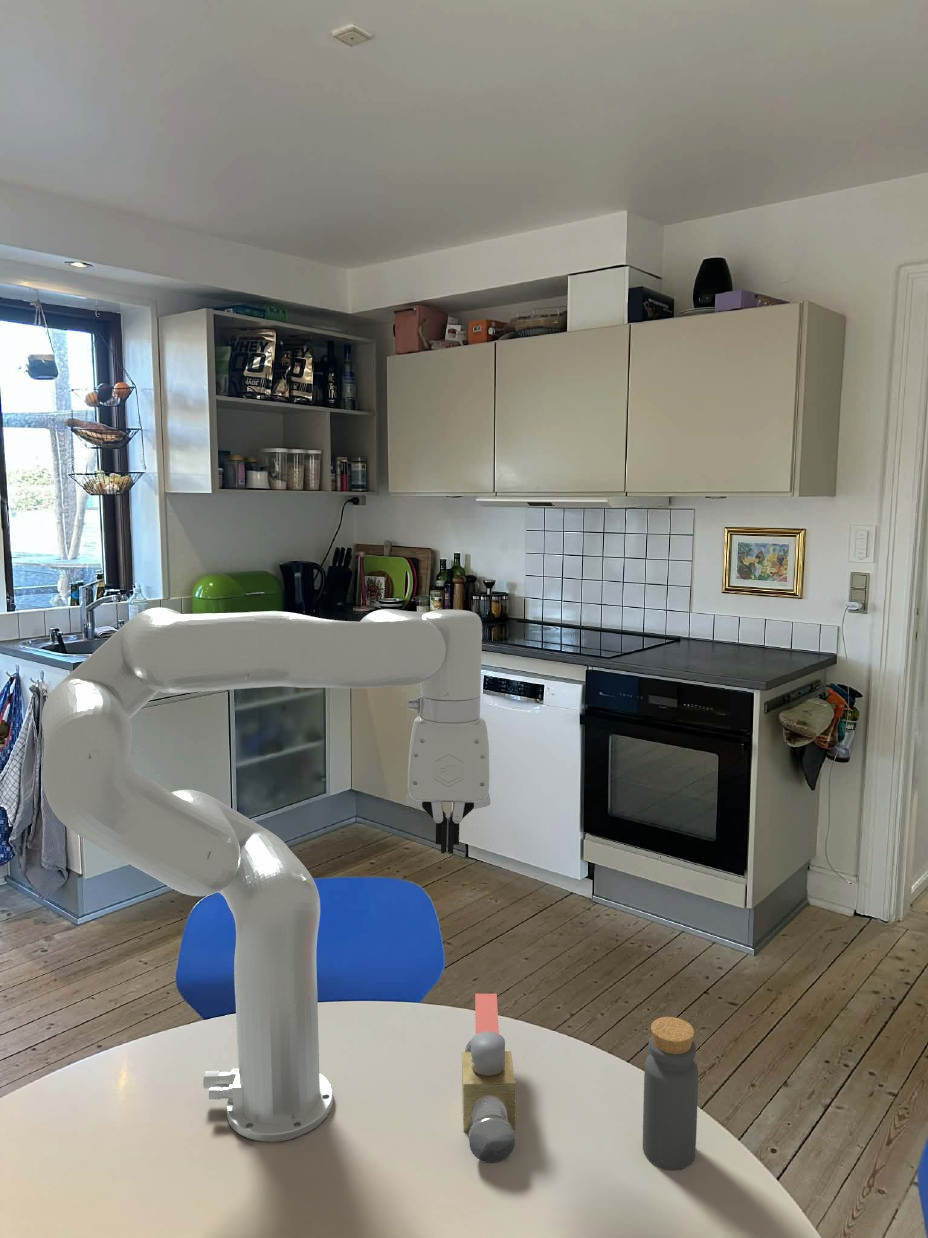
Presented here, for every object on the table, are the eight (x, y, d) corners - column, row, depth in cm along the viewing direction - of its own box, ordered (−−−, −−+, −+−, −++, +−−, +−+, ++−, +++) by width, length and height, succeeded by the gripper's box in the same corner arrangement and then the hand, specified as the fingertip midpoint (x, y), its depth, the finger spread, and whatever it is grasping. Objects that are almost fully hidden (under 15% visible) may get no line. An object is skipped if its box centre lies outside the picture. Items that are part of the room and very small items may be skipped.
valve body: (464, 1163, 101) (464, 1114, 100) (461, 1071, 117) (460, 1028, 116) (519, 1162, 101) (519, 1113, 100) (507, 1070, 117) (507, 1027, 116)
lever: (505, 1075, 106) (505, 1052, 106) (471, 1075, 106) (471, 1052, 106) (501, 1008, 120) (501, 986, 120) (470, 1008, 120) (470, 986, 120)
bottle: (682, 1179, 99) (686, 1051, 97) (633, 1155, 102) (636, 1031, 100) (703, 1148, 103) (708, 1025, 101) (656, 1126, 107) (659, 1007, 105)
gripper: (388, 715, 110) (386, 860, 113) (511, 717, 110) (507, 862, 113) (392, 701, 118) (390, 838, 120) (508, 703, 118) (504, 840, 120)
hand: (447, 849), depth 116 cm, fingers closed
